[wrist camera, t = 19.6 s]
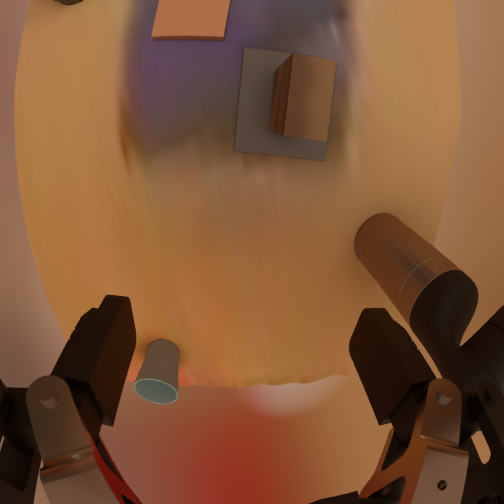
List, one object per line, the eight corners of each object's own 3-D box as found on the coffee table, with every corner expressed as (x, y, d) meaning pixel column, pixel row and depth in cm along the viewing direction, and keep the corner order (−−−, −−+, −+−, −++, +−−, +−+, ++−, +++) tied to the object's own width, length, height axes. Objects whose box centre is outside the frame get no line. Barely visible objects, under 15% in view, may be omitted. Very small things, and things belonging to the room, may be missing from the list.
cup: (144, 357, 50) (134, 399, 41) (145, 331, 47) (132, 374, 38) (181, 365, 52) (176, 407, 42) (185, 339, 48) (179, 384, 39)
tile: (224, 41, 28) (234, -16, 23) (223, 36, 26) (234, -24, 21) (156, 41, 27) (169, -17, 22) (151, 36, 25) (165, -23, 20)
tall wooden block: (305, 76, 30) (336, 61, 20) (298, 134, 33) (326, 142, 23) (274, 71, 29) (293, 52, 19) (267, 130, 33) (283, 135, 23)
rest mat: (335, 63, 29) (336, 63, 29) (323, 160, 36) (324, 161, 35) (244, 48, 28) (244, 47, 28) (234, 150, 34) (234, 151, 34)
